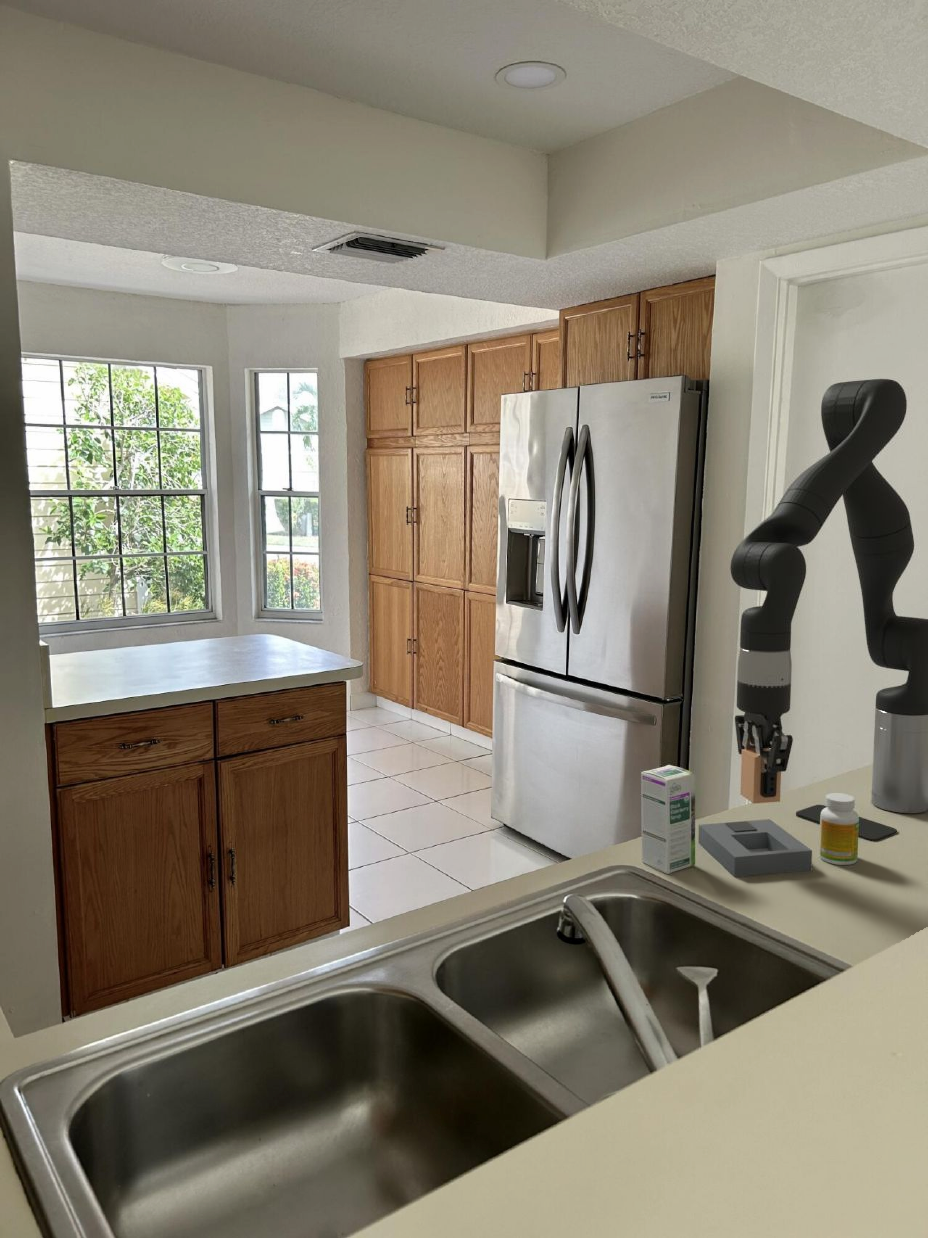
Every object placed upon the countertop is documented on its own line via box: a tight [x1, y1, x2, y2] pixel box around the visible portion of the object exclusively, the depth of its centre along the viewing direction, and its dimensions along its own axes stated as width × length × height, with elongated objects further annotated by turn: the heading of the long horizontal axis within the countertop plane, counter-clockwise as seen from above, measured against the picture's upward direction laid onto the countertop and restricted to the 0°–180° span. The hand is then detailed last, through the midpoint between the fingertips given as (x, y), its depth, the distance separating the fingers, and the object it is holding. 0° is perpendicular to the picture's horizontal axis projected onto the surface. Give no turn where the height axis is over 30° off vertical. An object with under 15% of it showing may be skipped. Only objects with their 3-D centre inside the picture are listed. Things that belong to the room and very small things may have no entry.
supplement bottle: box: [818, 792, 860, 866], centre depth 137 cm, size 5×5×10 cm
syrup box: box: [640, 764, 696, 875], centre depth 136 cm, size 6×6×14 cm
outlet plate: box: [697, 818, 813, 878], centre depth 139 cm, size 12×13×3 cm
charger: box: [739, 748, 782, 804], centre depth 136 cm, size 4×4×7 cm
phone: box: [795, 804, 898, 842], centre depth 152 cm, size 7×1×15 cm
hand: (760, 790), depth 136 cm, fingers closed on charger, 4 cm apart
